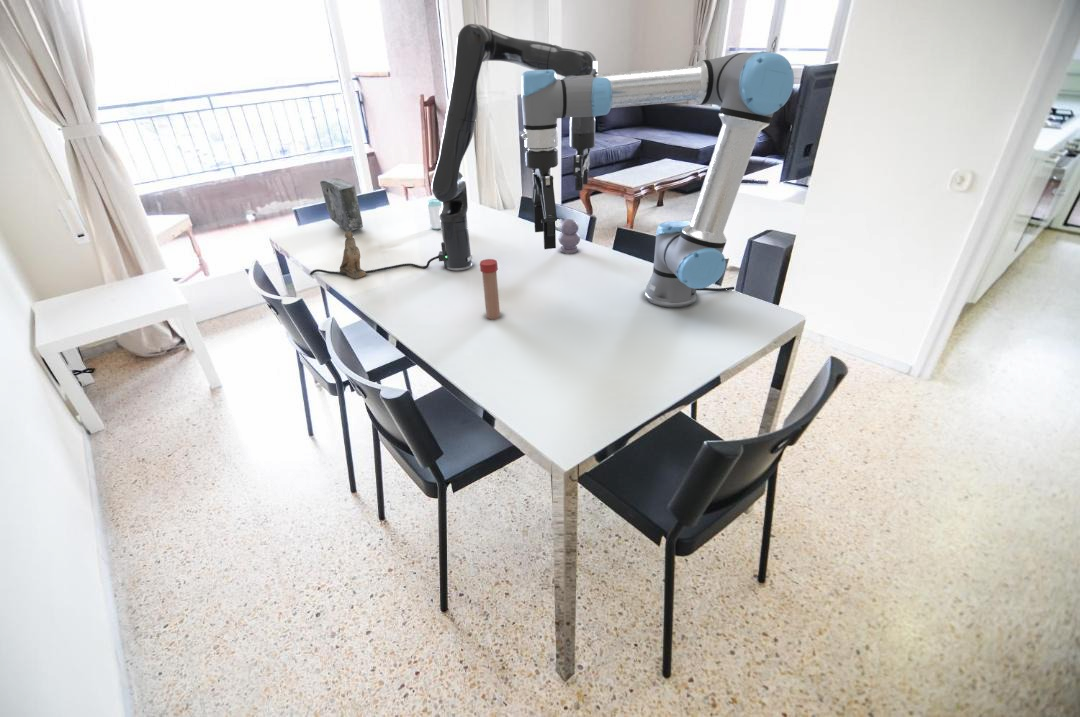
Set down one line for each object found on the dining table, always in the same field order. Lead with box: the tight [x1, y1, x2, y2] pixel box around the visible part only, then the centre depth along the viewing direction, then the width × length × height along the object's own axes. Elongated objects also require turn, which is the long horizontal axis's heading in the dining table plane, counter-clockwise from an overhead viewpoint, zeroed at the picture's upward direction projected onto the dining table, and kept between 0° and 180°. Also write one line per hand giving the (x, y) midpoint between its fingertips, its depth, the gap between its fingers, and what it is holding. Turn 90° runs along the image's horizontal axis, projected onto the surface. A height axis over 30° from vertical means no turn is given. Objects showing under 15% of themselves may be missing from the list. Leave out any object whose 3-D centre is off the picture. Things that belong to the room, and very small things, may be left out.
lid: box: [479, 258, 499, 273], centre depth 137 cm, size 5×5×2 cm
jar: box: [481, 271, 501, 320], centre depth 141 cm, size 4×4×16 cm
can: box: [426, 198, 443, 230], centre depth 220 cm, size 7×7×12 cm
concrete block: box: [319, 177, 364, 232], centre depth 222 cm, size 27×9×20 cm, turn 36°
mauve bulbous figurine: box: [558, 218, 581, 254], centre depth 188 cm, size 8×8×12 cm
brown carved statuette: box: [339, 230, 367, 280], centre depth 174 cm, size 12×6×18 cm, turn 43°
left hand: (581, 186), depth 155 cm, fingers open, 8 cm apart
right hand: (544, 239), depth 124 cm, fingers open, 13 cm apart
